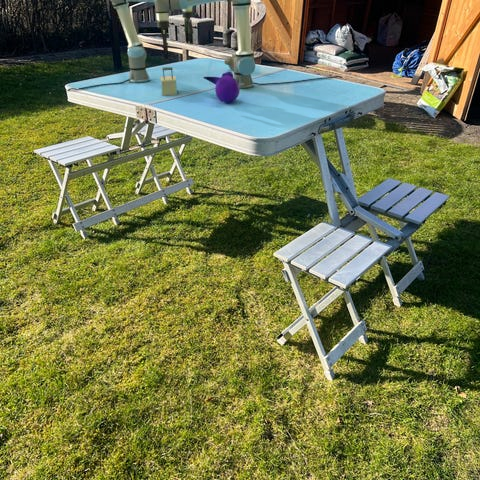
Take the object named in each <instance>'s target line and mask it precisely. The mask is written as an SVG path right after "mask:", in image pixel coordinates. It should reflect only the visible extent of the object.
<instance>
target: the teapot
mask: <svg viewBox="0 0 480 480" xmlns="http://www.w3.org/2000/svg"><path fill="white" fill-rule="evenodd" d="M234 52H237V50H234V51H233V53H232V54H231V57H230V56H227V57H226V58H225V59H224V62H223V63H224V64H225V65H226V66H228V68H229V69H230V71H233V72H234V57H233V56H234Z"/></svg>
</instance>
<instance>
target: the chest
mask: <svg viewBox="0 0 480 480" xmlns="http://www.w3.org/2000/svg"><path fill="white" fill-rule="evenodd" d="M160 82H161V81H160ZM160 85H161V91H162V92H161V93H162V96H163V97H164V96H165V97H166V96H178V89H177V80H176V81H169V82H161V83H160Z"/></svg>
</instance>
